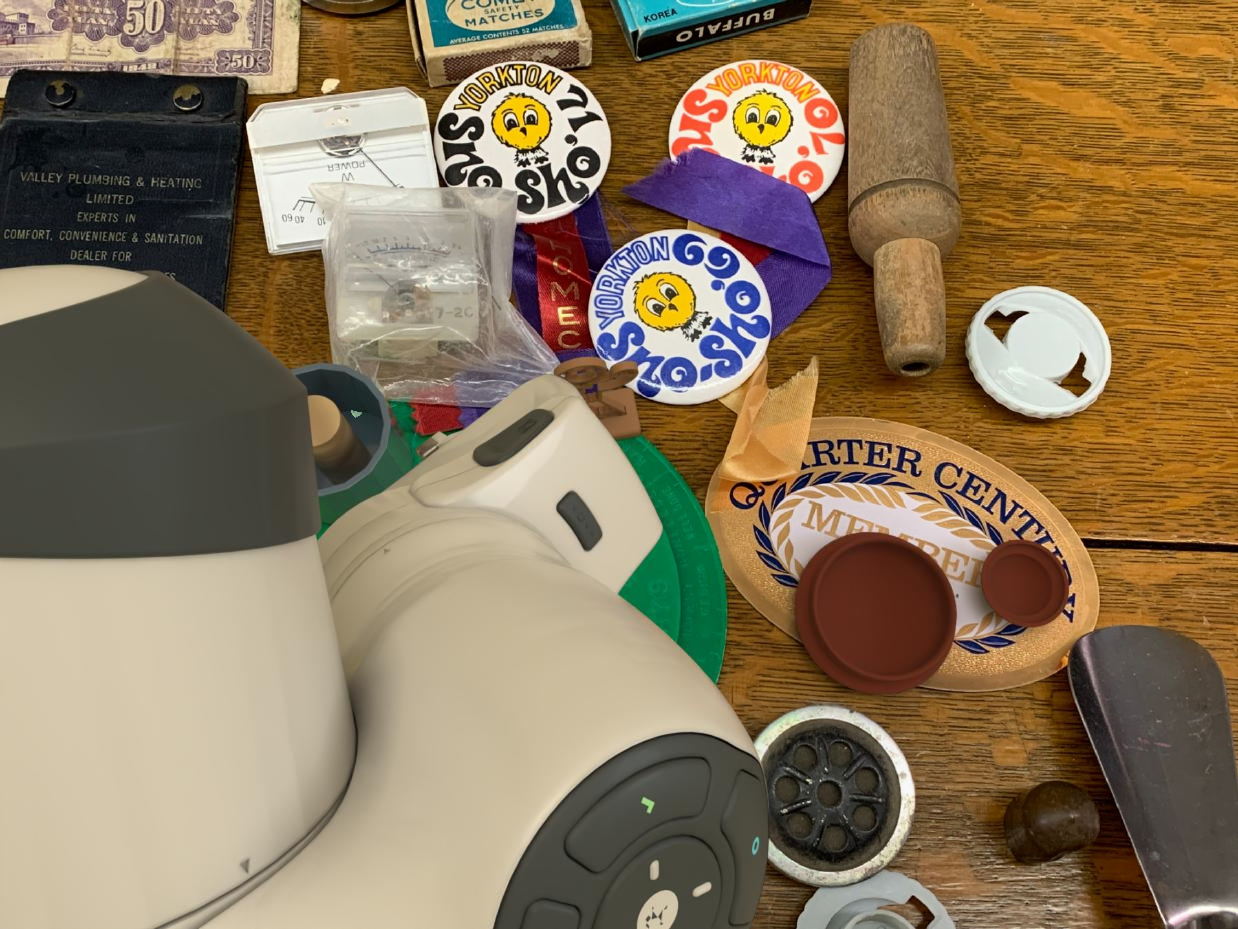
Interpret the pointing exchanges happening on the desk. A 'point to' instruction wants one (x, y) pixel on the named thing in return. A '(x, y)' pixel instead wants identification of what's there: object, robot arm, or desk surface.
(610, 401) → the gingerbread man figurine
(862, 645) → the pottery
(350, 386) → the cup
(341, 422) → the shaker
